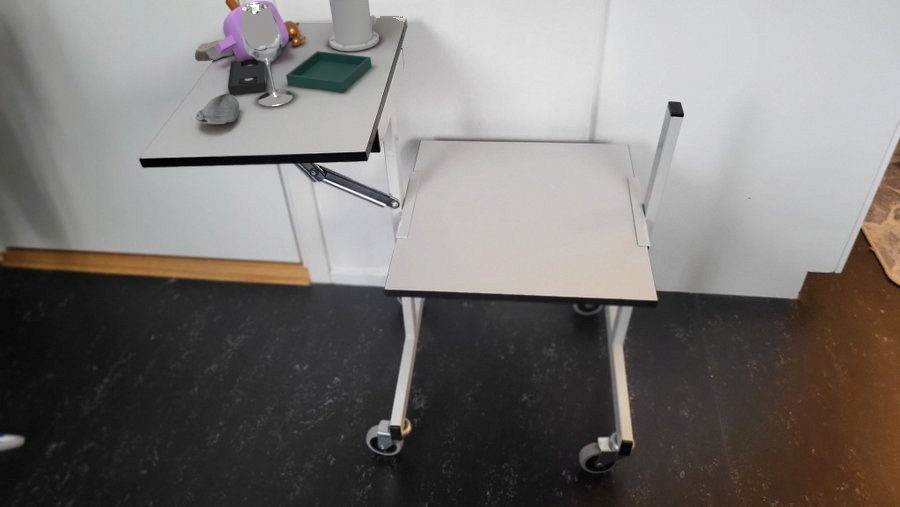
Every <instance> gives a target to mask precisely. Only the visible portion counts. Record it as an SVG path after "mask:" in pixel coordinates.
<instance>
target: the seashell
mask: <svg viewBox="0 0 900 507" xmlns="http://www.w3.org/2000/svg"><path fill="white" fill-rule="evenodd" d="M239 112H240V101H239V100H238V98H236V97H235V96H234V94H233V95H231V94H230V93H224V94H220V95H217V96H215V97H213V98H212V99H210V100H209V101H208V102H207V103H206V105H205V106H204V107H203V108H202V109H201V110H199V111H198V112H196V114H195V119H196V120H197V122H199V123H202V124H206V125H225V124H226V123H232V122H235V121H236V120H237V118H238V117H239Z"/></svg>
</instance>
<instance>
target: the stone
mask: <svg viewBox="0 0 900 507" xmlns="http://www.w3.org/2000/svg"><path fill="white" fill-rule="evenodd" d="M221 40H222V39H217V40H213V41H211V42H204V43H201V44H199V46H198V47H196V49H195V52H194V58H195V61H196V62H211V61H217V60H219V59H221V58H224V57H231V56H233V55H234V52H233V50H232V49H231V50H229V51H226V52H224V53H222V54H218V52H217V50H216V48H215V46H216V44H217V43H218V42H219V41H221Z"/></svg>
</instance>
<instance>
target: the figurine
mask: <svg viewBox="0 0 900 507" xmlns="http://www.w3.org/2000/svg"><path fill="white" fill-rule="evenodd" d="M284 24H285V26H286V29H287V31H288V35H289V39H291V46H293V47H297V46H299V45H300V44H302V42H305V41H306V39H307V36H303V37H302V36H301V33H300V29H299V27H300V26H299V25H300V22H299V21H298V22H294V21H292V20H286V21H284Z"/></svg>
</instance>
